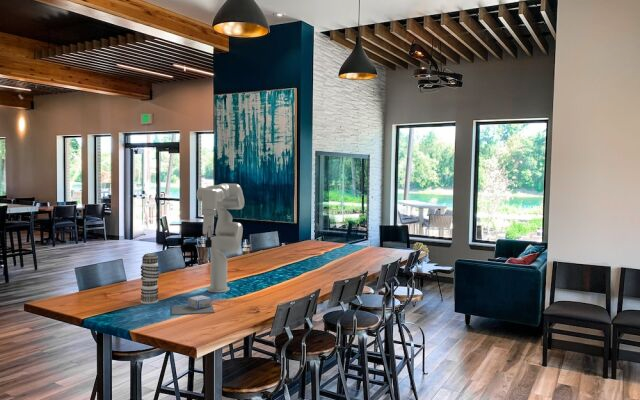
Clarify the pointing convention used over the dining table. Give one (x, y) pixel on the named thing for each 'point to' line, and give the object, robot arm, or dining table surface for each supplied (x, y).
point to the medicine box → (199, 302)
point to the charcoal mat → (190, 310)
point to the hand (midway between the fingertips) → (208, 247)
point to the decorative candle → (149, 278)
